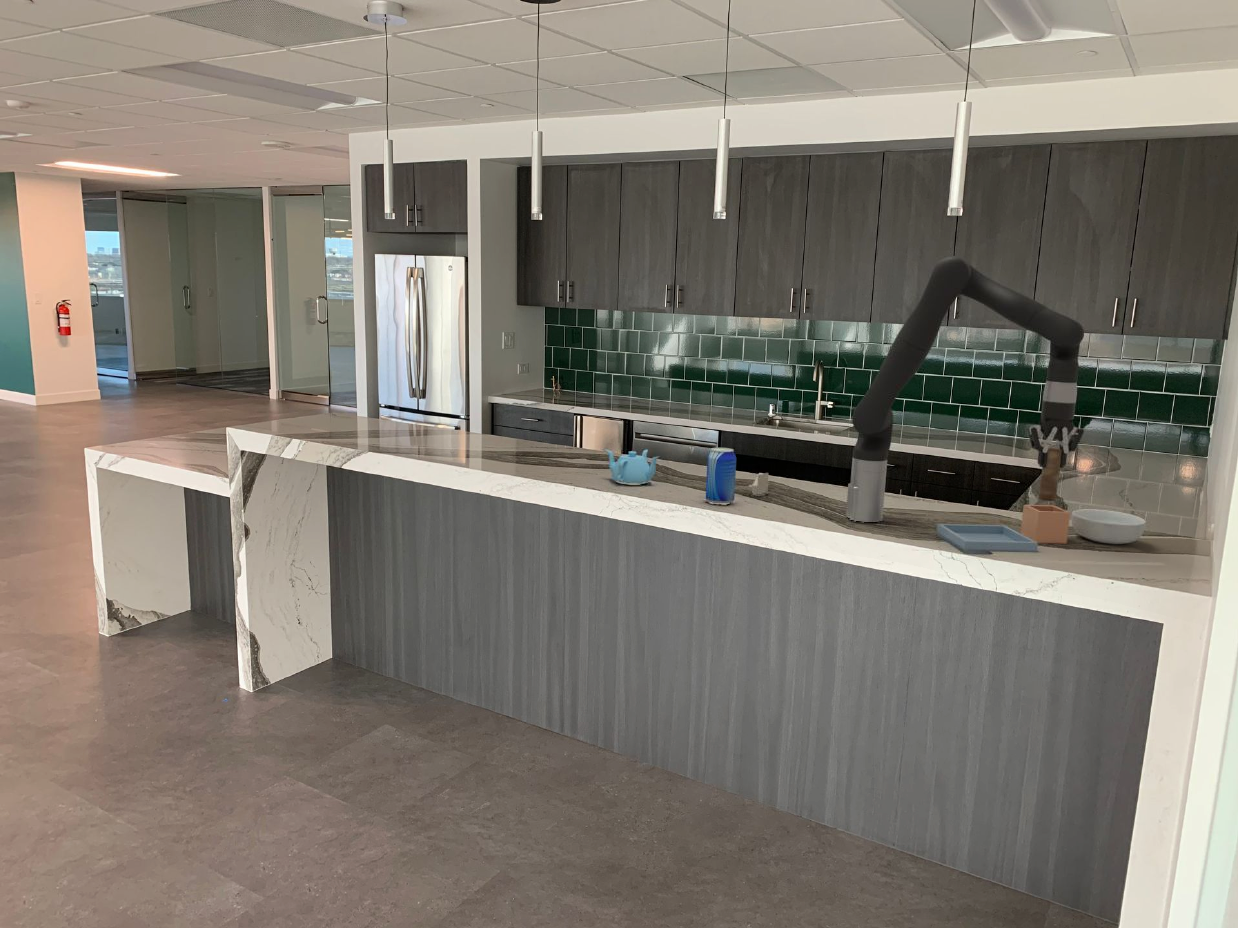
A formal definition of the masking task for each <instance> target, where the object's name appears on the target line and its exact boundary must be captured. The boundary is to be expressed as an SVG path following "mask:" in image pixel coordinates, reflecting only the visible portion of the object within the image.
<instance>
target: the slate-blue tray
mask: <svg viewBox="0 0 1238 928" xmlns="http://www.w3.org/2000/svg"><path fill="white" fill-rule="evenodd" d="M935 535H936V537H938V538H940V539H942V540H943V541H945V542H946V543H948V544H949V545H950V546H952V547H953V548H955V549H957V550H958V551H960V552H961V553H963V554H968V555H969V554H971V555H972V554H974V555H979V554H981V555H982V554H984V555H994V553H993V552H1019V553H1020V552H1025V553H1026V552H1027V553H1028V552H1029V553H1038V549H1039V548H1038V547H1039V543H1037V542H1035V541H1034V540H1032V539H1030V538H1028V537H1026V536H1024V535H1022V534H1021V532H1019V531H1017V530H1014V529H1012V528H1010V527H1008V526H1007V525H1005V524H1004V525H1003V524H1002V525H1001V524H1000V525H999V524H965V523H964V524H962V523H960V524H959V523H958V524H957V523H956V524H955V523H954V524H953V523H952V524H951V523H937V524H936V532H935Z"/></svg>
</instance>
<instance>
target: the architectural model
mask: <svg viewBox="0 0 1238 928" xmlns="http://www.w3.org/2000/svg"><path fill="white" fill-rule="evenodd" d="M769 485H770V484H769V472H765V473H762V472H759V473H758V475H757V476H756V478H755V480H754V481H752V484H749V485H748V488H749V487H750V488H751V494H752V493H753V494H762V493H764V492H767V493H768V488H769V487H768V486H769Z"/></svg>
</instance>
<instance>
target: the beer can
mask: <svg viewBox="0 0 1238 928" xmlns="http://www.w3.org/2000/svg"><path fill="white" fill-rule="evenodd" d="M734 451H735V450H734V449H733V448H728V447H712V448H711V449H710V452H709V453H708V454H707V459H706V460H707V462H706V481H705V500H706V501H707V502H708V501H709V502H713V503H731V502H732V503H733V502H734V500H735V492H736V491H735V490H736V489H735V488H736V473H737V472H736V471H737V470H736V469H737V457H736V454H735V452H734ZM732 503H731V504H732Z"/></svg>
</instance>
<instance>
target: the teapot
mask: <svg viewBox="0 0 1238 928" xmlns="http://www.w3.org/2000/svg"><path fill="white" fill-rule="evenodd" d="M605 451H606V452H607V455H608V467H609V470H610V472H611V478H612V480H613V481H614V480H616V481H619V482H626V483H643V482H648V481H649V482H650V481H651V480H652V478H653V476H654V475H655V473H656V469H657V468H656V465H657V463H656V462H657V460H658V458H659V457H660V456H661V455H659V456H653V457H652V458H651V460H650V465H649V462H648V460H647V459H648V458H647V455H648V452H649V450H648V449H645V450H643V451H642V454H641V455H638V454H637V452H636V451H633V450H631V451H628V454H624V455H621V456H619V458H618V459H617V461H615V457H614V453H613V451H611V450H609V449H606V448H605ZM649 482H648V483H649Z"/></svg>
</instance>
